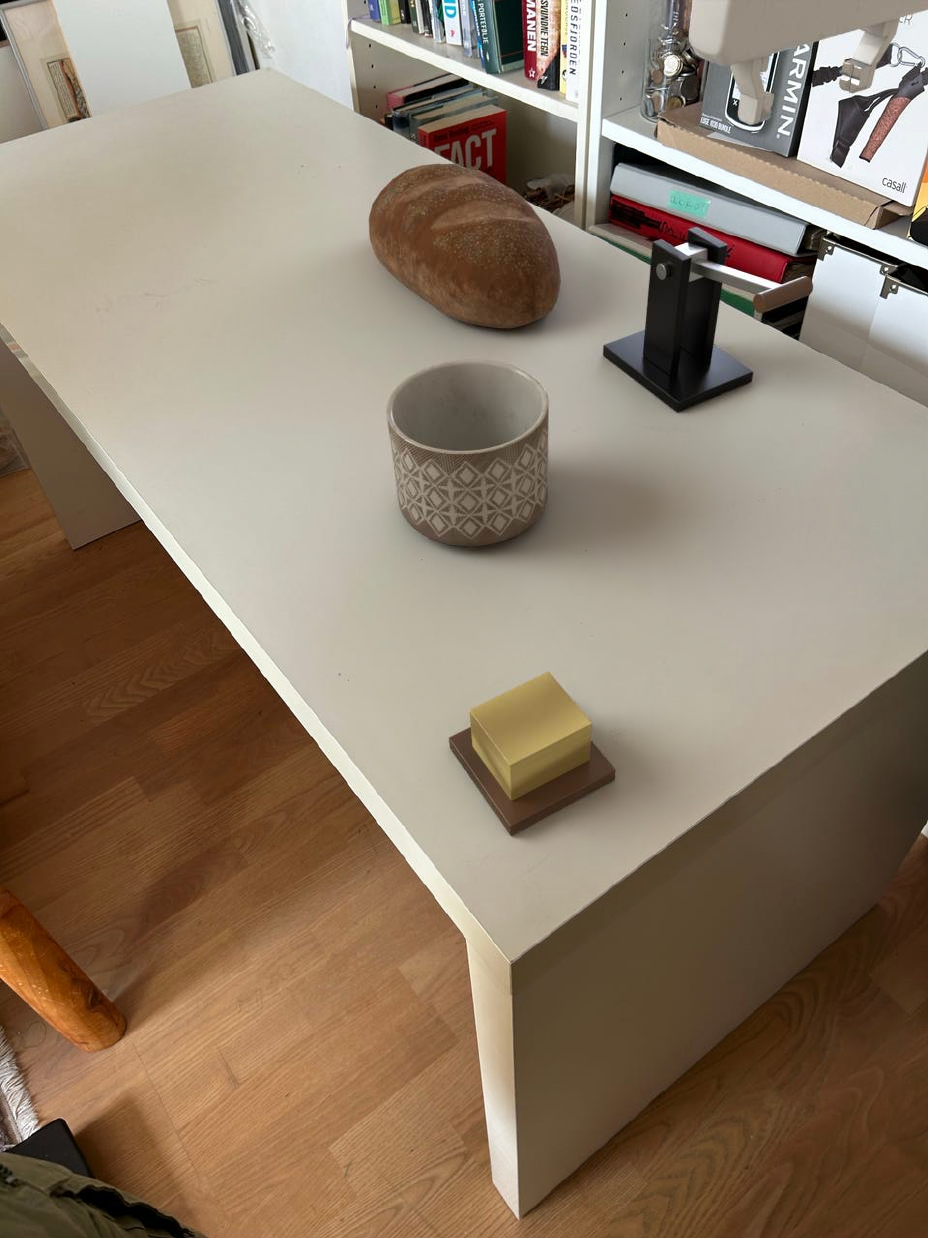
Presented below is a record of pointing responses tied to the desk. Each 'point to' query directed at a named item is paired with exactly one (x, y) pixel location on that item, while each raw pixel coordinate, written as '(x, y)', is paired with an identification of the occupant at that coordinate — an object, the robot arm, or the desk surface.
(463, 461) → the planter
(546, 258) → the bread
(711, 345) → the slicer
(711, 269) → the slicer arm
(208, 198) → the desk surface
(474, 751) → the butter
